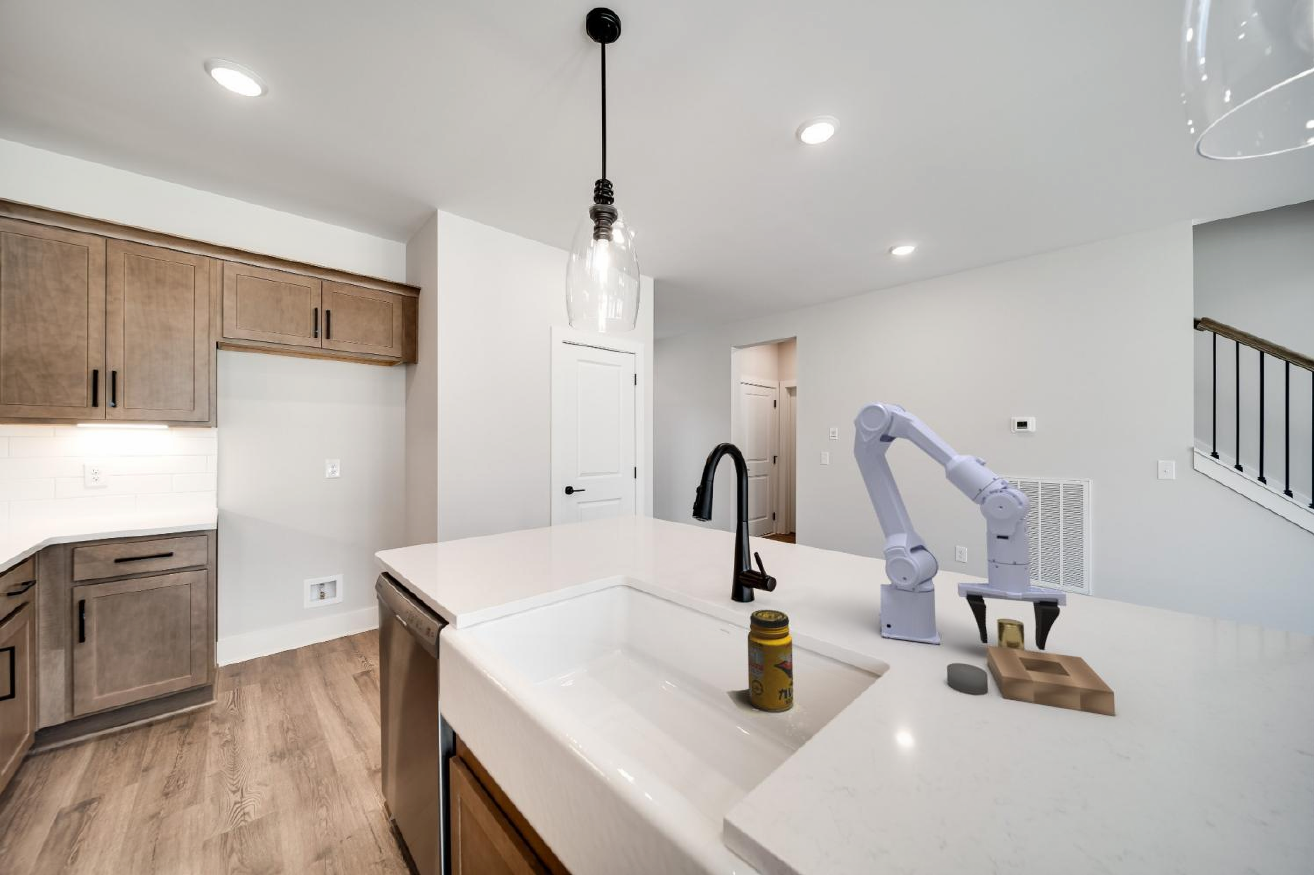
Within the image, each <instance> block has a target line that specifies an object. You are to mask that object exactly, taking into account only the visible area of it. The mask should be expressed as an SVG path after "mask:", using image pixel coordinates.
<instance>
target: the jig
mask: <svg viewBox="0 0 1314 875" xmlns="http://www.w3.org/2000/svg"><path fill="white" fill-rule="evenodd" d="M986 665H987V667H988V669H989V671H990V673H991V675H992V678H993V680H994V681H995V684H996V685H997V688H998V691H999V692H1000V694H1001V696H1002V698H1003V699H1007V700H1013V701H1020V702H1026V703H1032V704H1039V705H1043V706H1044V705H1045V706H1051V707H1056V708H1063V709H1070V710H1075V711H1081V712H1087V713H1088V712H1089V713H1094V714H1100V715H1107V716H1114V717H1115V716H1116V712H1115V710H1116V709H1115V706H1116V705H1115V692H1114V691H1113V689H1112V688H1110V686H1109V685H1108V684H1107V683H1106V682H1105V681H1104V680H1103V679H1102V678H1101V677H1100V676H1099V674H1097V672H1096V671H1095V670H1094V669H1092V667H1091V666H1090V665H1089V664H1088V663H1087V661H1085V660H1084V659H1083V658H1082V656H1073V655H1067V654H1059V653H1058V654H1057V653H1050V652H1041V651H1034V650H1026V649H1025V650H1019V649H1011V648H1003V647H998V646H994V645H986Z"/></svg>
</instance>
